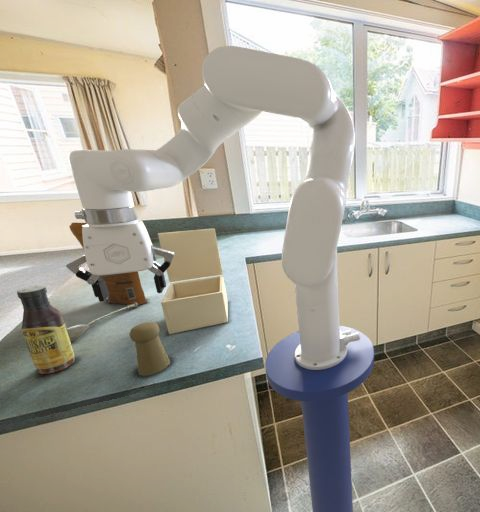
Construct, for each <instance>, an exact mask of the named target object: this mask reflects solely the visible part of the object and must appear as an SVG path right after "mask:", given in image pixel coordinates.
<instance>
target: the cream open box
mask: <svg viewBox="0 0 480 512" xmlns="http://www.w3.org/2000/svg"><path fill="white" fill-rule="evenodd" d="M160 304H161V309H162V313H163V316H164V320H165V323H166V328H167V332H168V335H174V334H179V333H181V332H185V331H186V332H187V331H191V330H192V331H193V330H197V329H202V328H207V327H211V326H215V325H220V324H226V323H228V322H229V302H228V296H227V289H226V284H225V278H224V275H216V276H209V277H202V278H196V279H189V280H182V281H175V282H169V285H168V287H167V288H166V290H165V293H164V296H163V297H162V299H161V301H160Z"/></svg>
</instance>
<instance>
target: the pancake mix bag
mask: <svg viewBox="0 0 480 512" xmlns="http://www.w3.org/2000/svg"><path fill="white" fill-rule="evenodd" d="M86 224H87V223H86V222H71V224H70V225H68V227H69V229H70V230H69V231H70V232H71V233H72V235H73V236H74V237H75V238H76V240H77V241H78V243H79V244H80V246H81V248H82V249H83V250H84V245H83V237H82V226H84V225H86ZM101 279H103V280H105V283H106V286H107V290H108V293H109V296H108V298H107V303H110V304H118V305H126V306H129V305H132V304H133V303H137V304H138V306H140V305H145V304H148V300H147V298H146V294H145V291H144V289H143V287H142V282H141V279H140V275H139V271H137V272H129V273H120V274H112V275H102V276H101Z"/></svg>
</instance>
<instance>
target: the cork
mask: <svg viewBox="0 0 480 512" xmlns="http://www.w3.org/2000/svg"><path fill="white" fill-rule="evenodd" d="M159 334H160V327H159V325H158V324H157V323H156V322H154V321H146V322H141V323H138V324H136V325H134V326H133V327H132V328H131V329H130V331H129V338H130V340H131V341H132V342H134V343H135V351H136V353H135V355H136V362H137V364H136V365H137V371H138V374H139V376H144V377H145V376H152V375H156V374H158V373H160V372H162V371H164V370H165V369H167V368H168V367H169V366H170V364H171V360H170V358H169V355H168V353H167V351H166V349H165V347H164V345H163V343H162V340H161V338H160V337H159Z"/></svg>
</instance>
